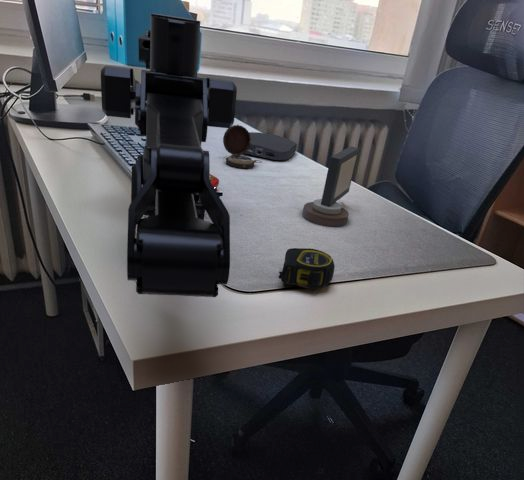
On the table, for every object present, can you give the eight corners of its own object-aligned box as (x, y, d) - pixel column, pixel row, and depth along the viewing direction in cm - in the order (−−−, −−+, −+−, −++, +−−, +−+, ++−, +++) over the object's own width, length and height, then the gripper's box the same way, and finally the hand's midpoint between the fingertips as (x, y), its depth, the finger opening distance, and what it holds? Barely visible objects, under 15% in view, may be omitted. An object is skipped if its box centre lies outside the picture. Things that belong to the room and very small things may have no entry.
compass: (230, 168, 108) (234, 132, 104) (220, 157, 114) (223, 122, 110) (265, 170, 110) (270, 134, 106) (254, 159, 116) (259, 125, 112)
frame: (335, 217, 87) (347, 162, 82) (308, 209, 88) (318, 155, 83) (355, 199, 97) (368, 150, 92) (331, 193, 98) (341, 143, 93)
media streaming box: (298, 151, 129) (300, 139, 127) (284, 164, 117) (286, 150, 115) (243, 139, 131) (245, 127, 129) (224, 150, 119) (225, 137, 117)
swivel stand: (353, 228, 88) (355, 219, 87) (309, 225, 86) (310, 216, 85) (338, 211, 95) (340, 203, 94) (297, 208, 93) (299, 200, 92)
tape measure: (283, 266, 71) (287, 241, 69) (331, 276, 71) (337, 251, 69) (276, 288, 66) (280, 261, 64) (328, 299, 65) (335, 272, 63)
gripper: (248, 46, 65) (232, 37, 77) (94, 25, 61) (103, 19, 73) (239, 138, 71) (225, 116, 84) (98, 125, 67) (107, 103, 79)
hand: (168, 89), depth 80 cm, fingers open, 9 cm apart
